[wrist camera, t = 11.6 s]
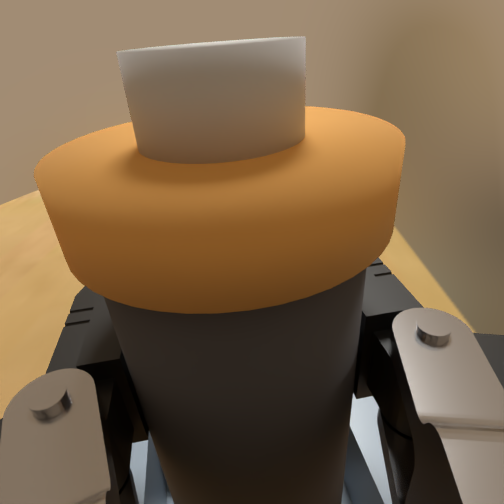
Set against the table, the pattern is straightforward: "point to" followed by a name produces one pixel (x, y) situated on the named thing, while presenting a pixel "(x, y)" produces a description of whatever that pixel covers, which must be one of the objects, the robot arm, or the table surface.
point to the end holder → (355, 477)
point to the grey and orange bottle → (232, 260)
